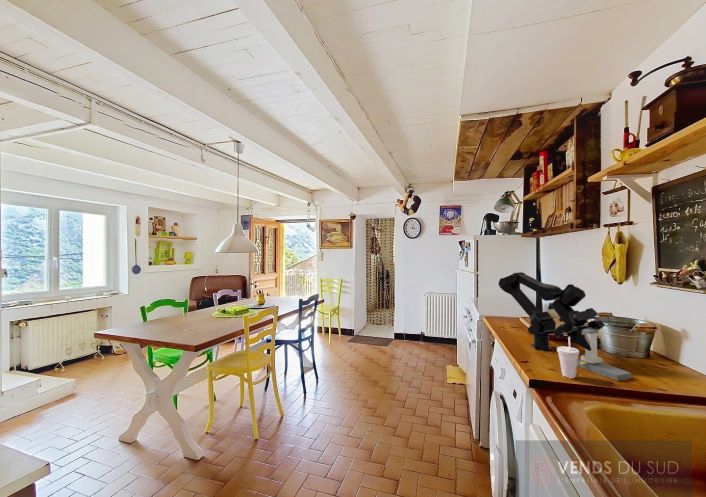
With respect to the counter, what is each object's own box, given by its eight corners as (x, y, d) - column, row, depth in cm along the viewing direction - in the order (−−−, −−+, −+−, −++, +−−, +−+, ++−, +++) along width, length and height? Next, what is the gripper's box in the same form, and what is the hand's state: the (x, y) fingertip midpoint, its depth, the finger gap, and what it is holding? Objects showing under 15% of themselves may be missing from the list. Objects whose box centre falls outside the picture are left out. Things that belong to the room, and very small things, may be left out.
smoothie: (584, 381, 101) (583, 340, 101) (563, 380, 102) (561, 339, 102) (574, 373, 107) (573, 334, 107) (554, 372, 108) (552, 334, 108)
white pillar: (581, 359, 113) (580, 328, 113) (591, 358, 114) (589, 327, 114) (592, 363, 109) (590, 331, 109) (601, 362, 110) (600, 330, 110)
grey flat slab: (574, 365, 113) (573, 359, 113) (593, 362, 115) (593, 356, 115) (613, 382, 100) (613, 375, 100) (634, 378, 102) (634, 371, 102)
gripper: (558, 303, 113) (588, 341, 102) (599, 299, 117) (631, 335, 106) (542, 319, 121) (568, 356, 110) (580, 315, 125) (609, 350, 114)
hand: (594, 349), depth 110 cm, fingers open, 4 cm apart
